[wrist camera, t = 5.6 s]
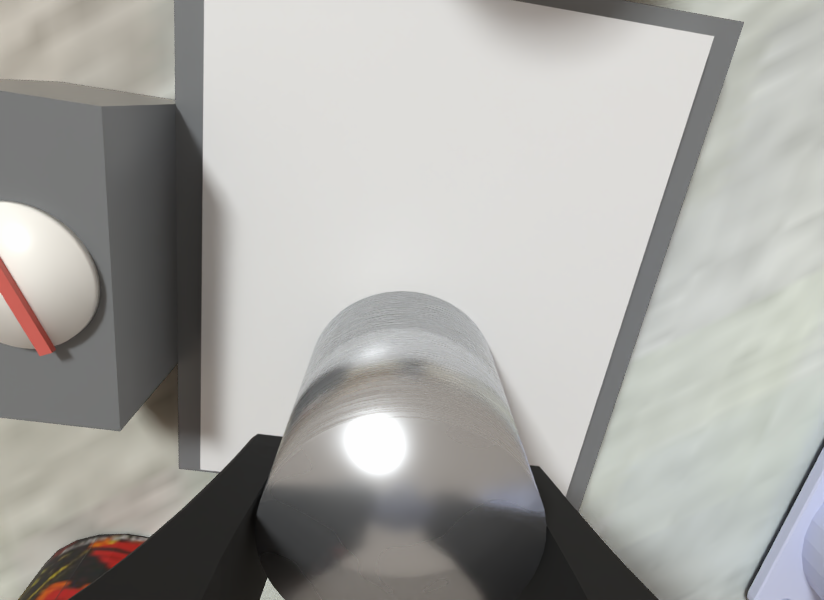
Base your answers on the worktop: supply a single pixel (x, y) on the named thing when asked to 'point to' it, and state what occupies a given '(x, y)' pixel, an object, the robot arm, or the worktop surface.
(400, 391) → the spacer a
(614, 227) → the scale
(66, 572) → the deodorant
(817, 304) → the worktop surface
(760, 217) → the worktop surface
